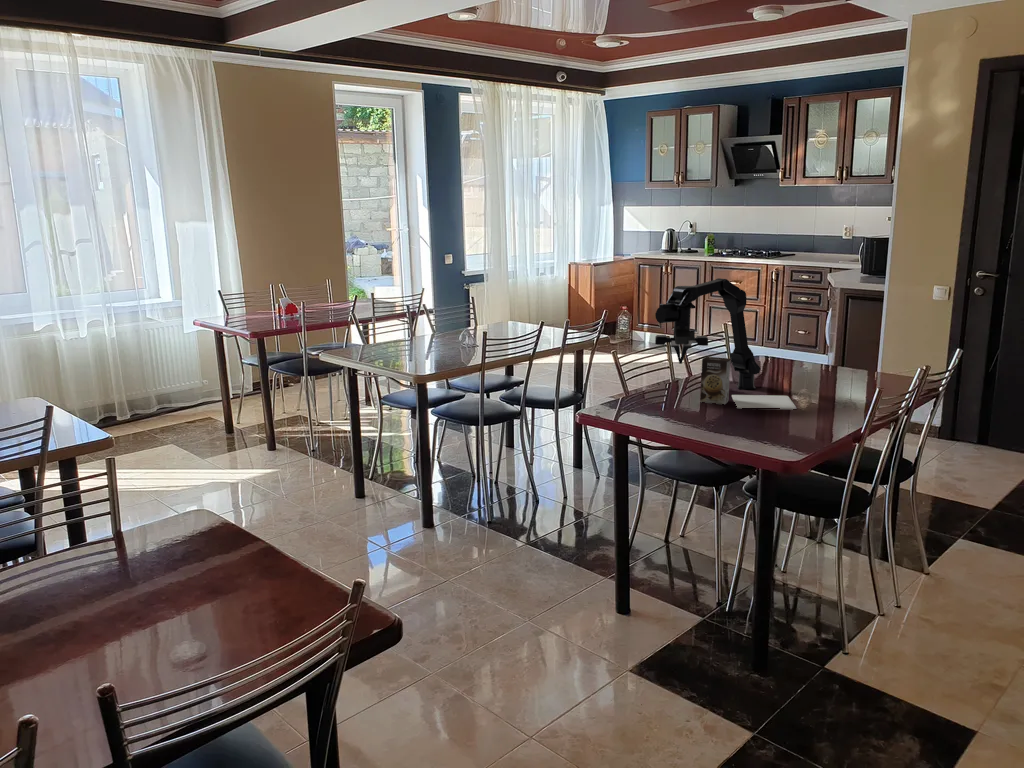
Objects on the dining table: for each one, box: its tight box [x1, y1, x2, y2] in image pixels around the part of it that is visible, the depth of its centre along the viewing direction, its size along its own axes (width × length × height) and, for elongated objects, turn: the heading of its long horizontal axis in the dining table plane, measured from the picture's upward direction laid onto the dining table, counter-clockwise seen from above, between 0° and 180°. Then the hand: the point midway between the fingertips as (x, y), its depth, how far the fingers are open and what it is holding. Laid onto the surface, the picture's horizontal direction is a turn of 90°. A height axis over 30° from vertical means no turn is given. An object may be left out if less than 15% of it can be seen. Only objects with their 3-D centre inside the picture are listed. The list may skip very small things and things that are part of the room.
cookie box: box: [700, 356, 731, 406], centre depth 286 cm, size 9×6×16 cm
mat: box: [731, 394, 797, 410], centre depth 284 cm, size 18×20×1 cm
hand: (680, 363), depth 289 cm, fingers closed
